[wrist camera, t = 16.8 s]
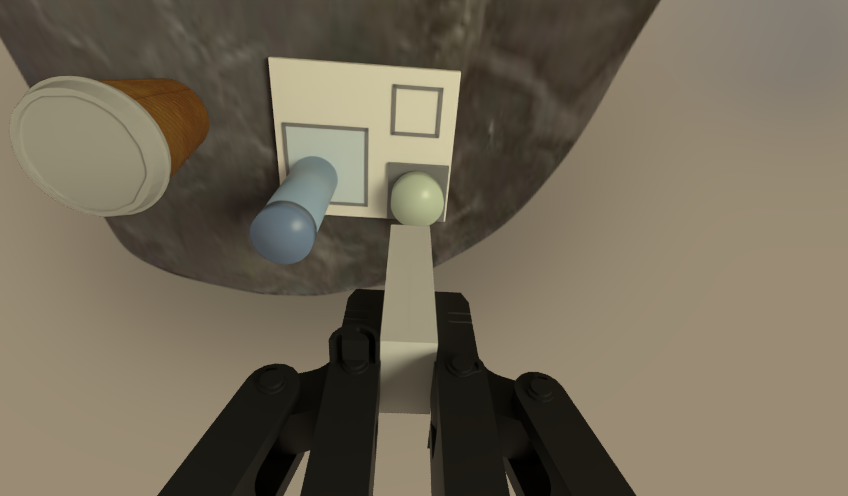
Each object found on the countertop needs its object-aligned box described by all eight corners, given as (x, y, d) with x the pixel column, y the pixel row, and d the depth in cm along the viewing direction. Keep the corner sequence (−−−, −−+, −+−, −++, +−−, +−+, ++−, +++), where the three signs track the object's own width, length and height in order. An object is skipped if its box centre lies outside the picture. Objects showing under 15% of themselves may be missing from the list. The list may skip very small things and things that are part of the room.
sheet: (270, 56, 36) (266, 58, 35) (460, 70, 37) (461, 72, 36) (284, 209, 43) (281, 214, 42) (444, 218, 44) (445, 223, 43)
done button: (392, 169, 39) (391, 177, 38) (444, 173, 40) (446, 180, 38) (390, 217, 42) (389, 226, 40) (440, 220, 42) (441, 229, 40)
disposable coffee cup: (162, 181, 41) (77, 240, 31) (91, 83, 37) (-36, 114, 27) (248, 145, 40) (190, 195, 29) (185, 39, 36) (89, 53, 25)
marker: (290, 154, 39) (246, 207, 29) (337, 157, 40) (310, 211, 29) (293, 197, 42) (253, 262, 31) (338, 200, 42) (313, 265, 31)
